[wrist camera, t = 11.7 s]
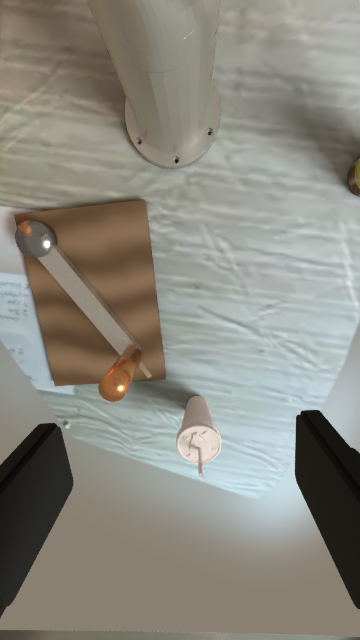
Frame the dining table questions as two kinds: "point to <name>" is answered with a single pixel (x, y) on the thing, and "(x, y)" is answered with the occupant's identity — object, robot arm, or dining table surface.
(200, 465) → the smoothie
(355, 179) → the sauce bottle
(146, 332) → the lever base
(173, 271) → the dining table surface
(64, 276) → the lever
